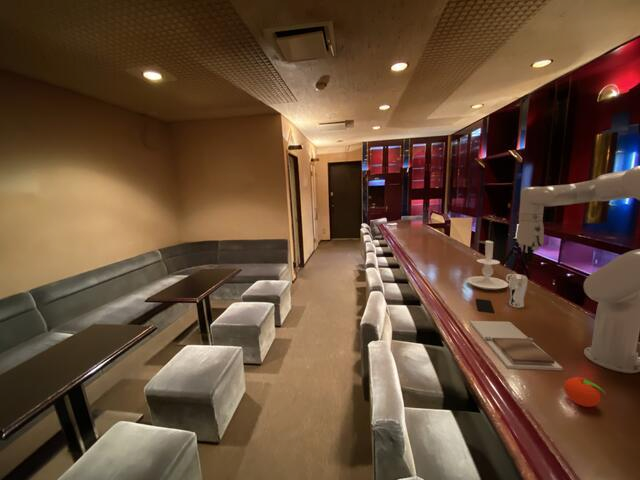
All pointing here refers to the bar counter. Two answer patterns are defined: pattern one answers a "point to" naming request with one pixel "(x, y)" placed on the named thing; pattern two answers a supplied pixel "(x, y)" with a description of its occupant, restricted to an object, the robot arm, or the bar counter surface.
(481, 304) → the smartphone
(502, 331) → the plaque base
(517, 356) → the flip plaque
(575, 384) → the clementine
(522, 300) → the beer glass
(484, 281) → the candlestick
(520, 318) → the bar counter surface
